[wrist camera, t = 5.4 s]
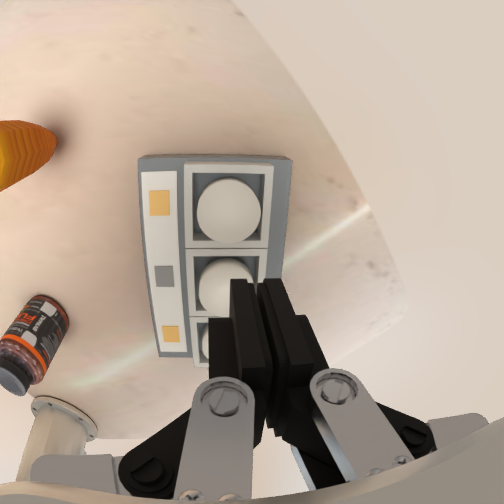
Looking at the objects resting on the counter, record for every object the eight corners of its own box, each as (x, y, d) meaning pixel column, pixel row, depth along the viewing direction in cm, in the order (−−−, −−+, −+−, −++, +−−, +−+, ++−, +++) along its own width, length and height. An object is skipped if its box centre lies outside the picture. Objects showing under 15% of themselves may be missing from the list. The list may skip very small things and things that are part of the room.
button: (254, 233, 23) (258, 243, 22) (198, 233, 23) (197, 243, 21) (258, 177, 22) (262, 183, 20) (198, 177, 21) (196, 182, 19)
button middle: (250, 302, 26) (253, 316, 24) (200, 303, 26) (199, 317, 24) (253, 257, 24) (256, 269, 22) (198, 258, 24) (198, 269, 22)
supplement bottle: (48, 285, 27) (0, 353, 17) (79, 325, 29) (45, 399, 19) (21, 303, 27) (-23, 365, 17) (50, 339, 30) (17, 406, 20)
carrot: (75, 168, 23) (-36, 227, 9) (33, 168, 22) (-78, 223, 8) (79, 114, 21) (-40, 126, 7) (36, 117, 20) (-84, 137, 6)
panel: (267, 340, 33) (274, 365, 29) (161, 341, 31) (157, 368, 28) (285, 156, 25) (298, 163, 21) (144, 155, 23) (132, 162, 19)
